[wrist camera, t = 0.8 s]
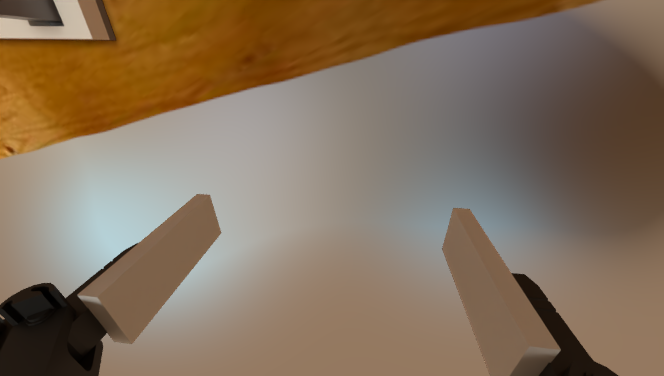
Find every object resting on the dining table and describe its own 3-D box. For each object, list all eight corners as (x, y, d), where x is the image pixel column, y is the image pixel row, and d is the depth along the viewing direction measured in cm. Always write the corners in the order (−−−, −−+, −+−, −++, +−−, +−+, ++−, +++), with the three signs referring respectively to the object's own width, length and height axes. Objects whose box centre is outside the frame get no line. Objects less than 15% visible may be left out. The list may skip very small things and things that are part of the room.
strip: (-51, -29, 34) (-93, -37, 31) (90, -32, 32) (61, -42, 28) (-13, 39, 38) (-46, 37, 35) (116, 40, 35) (92, 38, 32)
